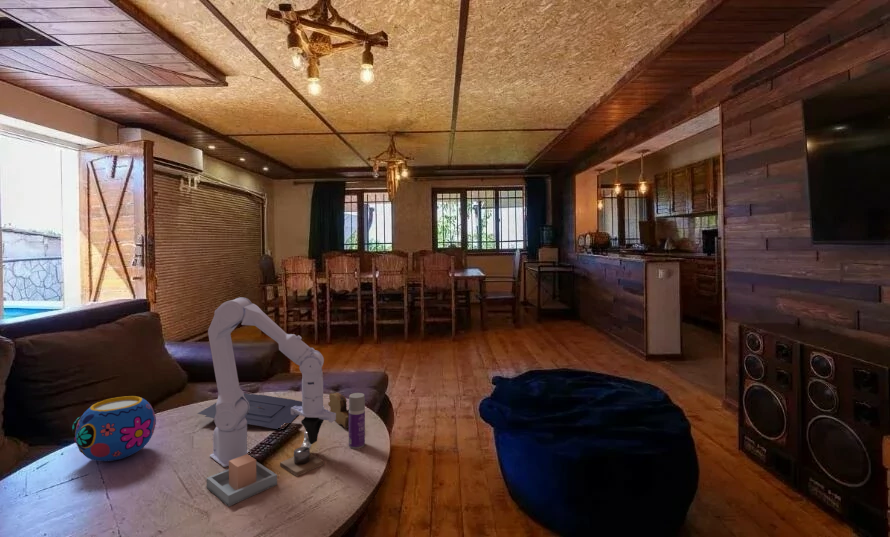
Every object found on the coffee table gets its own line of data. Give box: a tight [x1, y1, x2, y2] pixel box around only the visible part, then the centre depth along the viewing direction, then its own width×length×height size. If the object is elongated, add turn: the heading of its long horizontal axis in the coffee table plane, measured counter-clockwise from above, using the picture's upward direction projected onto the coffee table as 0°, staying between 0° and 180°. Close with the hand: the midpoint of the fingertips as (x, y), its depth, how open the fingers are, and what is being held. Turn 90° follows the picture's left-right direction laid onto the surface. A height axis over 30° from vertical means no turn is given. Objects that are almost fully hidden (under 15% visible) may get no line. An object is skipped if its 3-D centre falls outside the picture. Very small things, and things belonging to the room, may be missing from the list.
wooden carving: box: [327, 392, 349, 429], centre depth 140 cm, size 16×5×10 cm, turn 40°
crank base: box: [279, 453, 324, 477], centre depth 112 cm, size 8×8×1 cm
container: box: [348, 392, 366, 450], centre depth 124 cm, size 5×5×15 cm
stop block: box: [228, 454, 257, 490], centre depth 102 cm, size 4×4×6 cm
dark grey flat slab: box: [196, 392, 302, 430], centre depth 146 cm, size 24×30×4 cm
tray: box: [206, 460, 278, 507], centre depth 102 cm, size 12×12×2 cm
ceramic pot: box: [71, 395, 157, 462], centre depth 116 cm, size 18×18×15 cm
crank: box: [293, 430, 313, 464], centre depth 116 cm, size 12×4×4 cm, turn 6°
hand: (313, 442), depth 119 cm, fingers closed, pressing on crank
